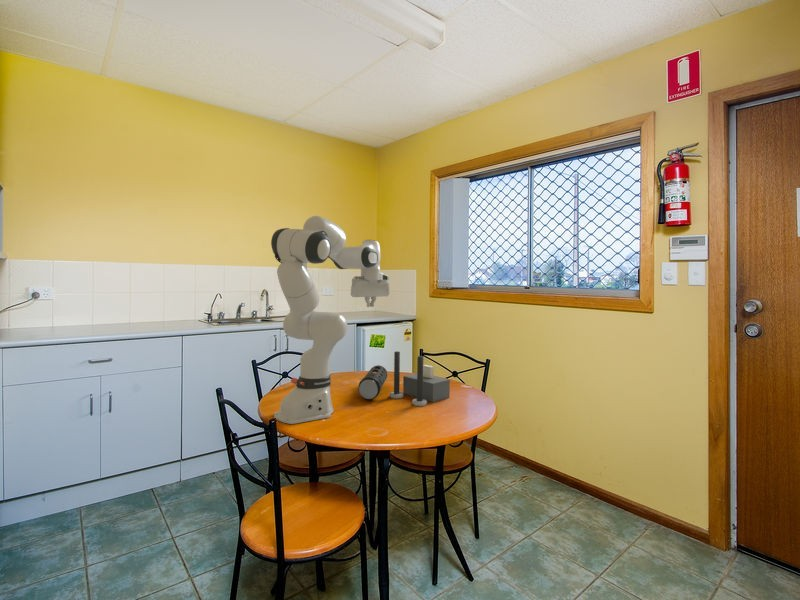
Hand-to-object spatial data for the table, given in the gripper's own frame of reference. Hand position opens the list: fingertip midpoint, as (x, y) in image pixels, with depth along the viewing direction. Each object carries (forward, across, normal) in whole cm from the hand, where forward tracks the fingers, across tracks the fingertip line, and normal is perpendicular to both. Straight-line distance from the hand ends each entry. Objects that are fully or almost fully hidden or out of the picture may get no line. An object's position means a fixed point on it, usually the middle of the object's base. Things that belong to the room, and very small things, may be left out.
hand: (370, 306), depth 188 cm
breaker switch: (+31, +16, -21) cm, 41 cm away
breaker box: (+39, +15, -21) cm, 47 cm away
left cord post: (+39, +4, -14) cm, 42 cm away
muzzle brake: (+40, 0, -3) cm, 40 cm away
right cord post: (+39, +4, -28) cm, 48 cm away
